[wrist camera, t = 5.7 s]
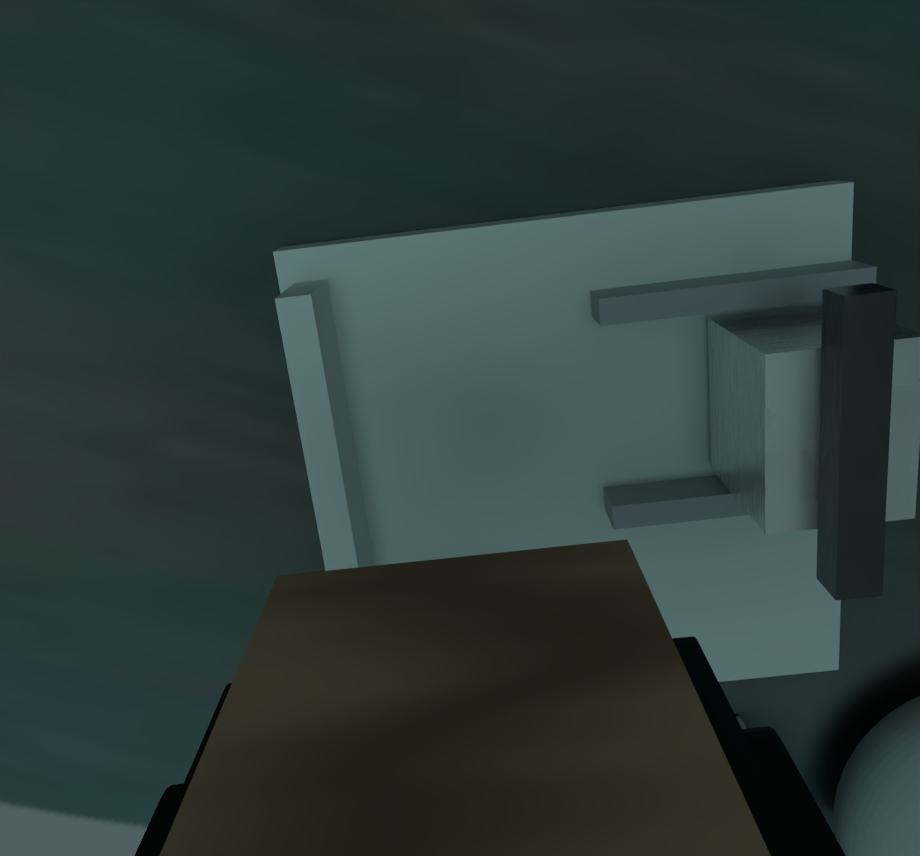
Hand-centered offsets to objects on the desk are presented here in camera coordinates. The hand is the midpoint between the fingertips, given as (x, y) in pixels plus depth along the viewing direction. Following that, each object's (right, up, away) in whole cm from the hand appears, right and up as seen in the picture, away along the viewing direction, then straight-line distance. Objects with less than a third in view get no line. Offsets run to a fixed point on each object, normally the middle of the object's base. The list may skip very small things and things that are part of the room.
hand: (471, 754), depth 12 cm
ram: (+10, +6, +15) cm, 19 cm away
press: (+4, +3, +17) cm, 18 cm away
